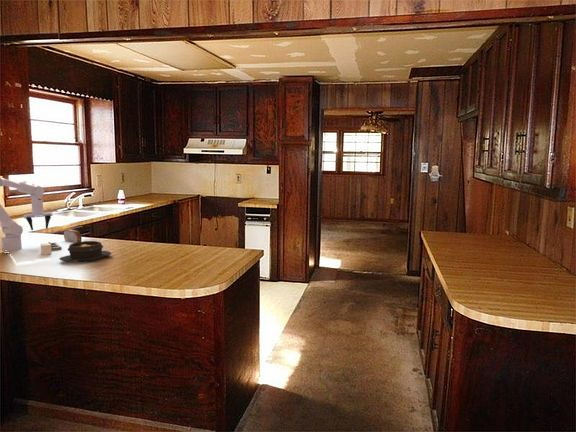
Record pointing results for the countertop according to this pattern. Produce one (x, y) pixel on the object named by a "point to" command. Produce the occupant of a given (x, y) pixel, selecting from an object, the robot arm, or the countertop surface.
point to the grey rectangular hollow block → (55, 246)
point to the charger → (46, 249)
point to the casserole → (85, 251)
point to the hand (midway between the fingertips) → (39, 229)
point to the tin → (72, 235)
